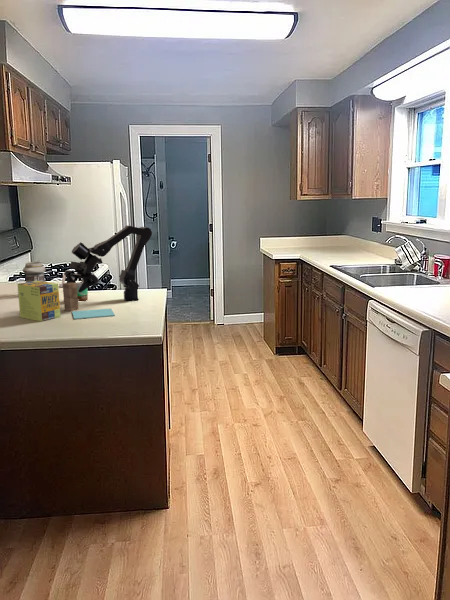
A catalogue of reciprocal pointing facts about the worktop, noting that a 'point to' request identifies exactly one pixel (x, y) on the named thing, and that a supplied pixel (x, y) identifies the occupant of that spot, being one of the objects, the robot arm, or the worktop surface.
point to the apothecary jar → (34, 271)
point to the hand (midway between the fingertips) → (72, 291)
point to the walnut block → (70, 296)
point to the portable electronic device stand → (63, 280)
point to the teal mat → (93, 313)
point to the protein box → (39, 300)
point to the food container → (84, 294)
